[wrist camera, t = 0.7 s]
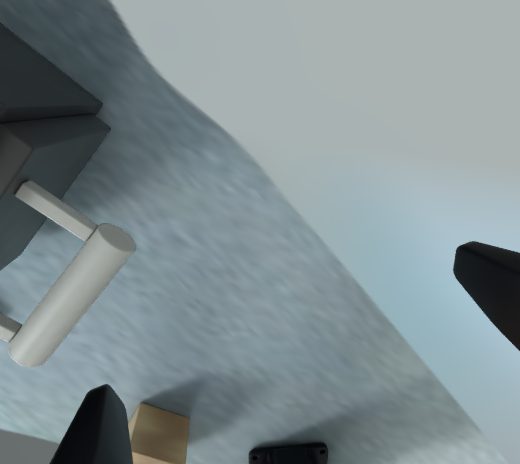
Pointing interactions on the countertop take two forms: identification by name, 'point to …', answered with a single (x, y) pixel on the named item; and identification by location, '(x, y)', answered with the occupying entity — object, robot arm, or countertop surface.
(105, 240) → the dark grey drawer
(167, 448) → the block
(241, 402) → the countertop surface
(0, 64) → the dark grey drawer box
